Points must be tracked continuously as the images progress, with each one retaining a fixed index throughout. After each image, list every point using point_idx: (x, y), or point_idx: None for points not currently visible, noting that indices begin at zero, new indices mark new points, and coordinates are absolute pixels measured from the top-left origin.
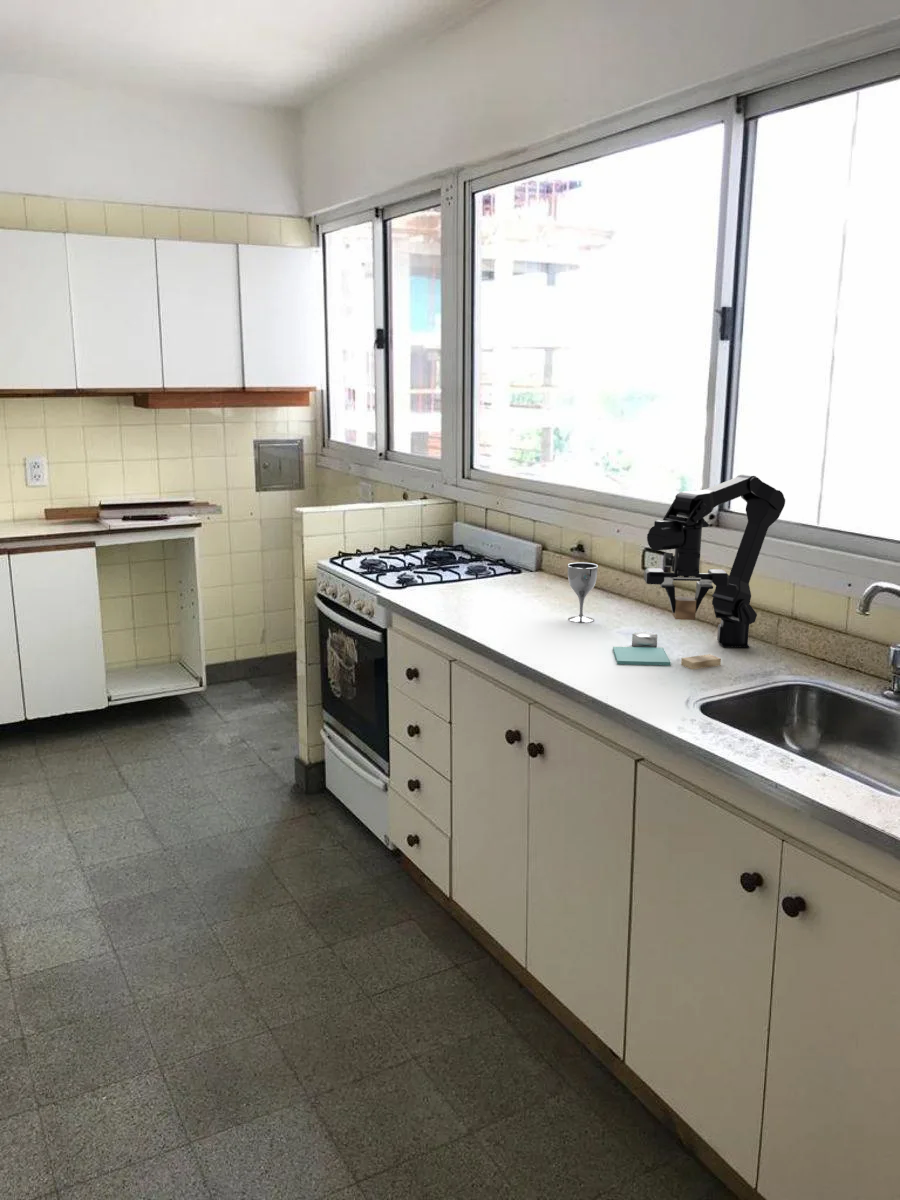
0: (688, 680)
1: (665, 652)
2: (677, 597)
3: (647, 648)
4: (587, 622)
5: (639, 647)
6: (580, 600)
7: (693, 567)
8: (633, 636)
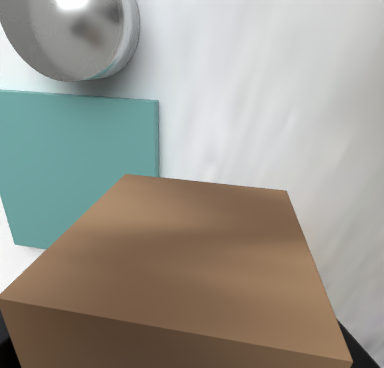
0: None
1: (154, 169)
2: (60, 363)
3: (92, 114)
4: None
5: (62, 100)
6: None
7: None
8: (8, 31)
